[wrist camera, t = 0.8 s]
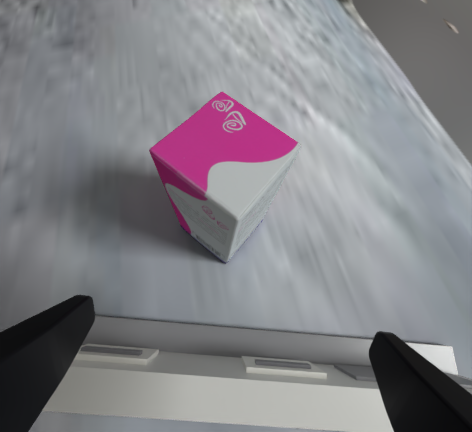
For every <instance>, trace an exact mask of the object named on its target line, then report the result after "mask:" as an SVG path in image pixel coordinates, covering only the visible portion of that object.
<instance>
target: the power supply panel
mask: <svg viewBox="0 0 472 432" xmlns="http://www.w3.org/2000/svg"><path fill="white" fill-rule="evenodd" d="M372 341H373V339H368V338H356V337H345V336H333V335H321V334H309V333H297V332H286V331H274V330H262V329H250V328H239V327H227V326H215V325H203V324H192V323H180V322H168V321H156V320H145V319H133V318H121V317H109V316H98V315H95V321H94V323H93V325H92V327H91V329H90V331H89V333H88V335H87V336H86V338H85V340H84V342H83V344H82V346H81V348H80V349H79V351H78V353H77V355H76V357H75V359H74V360H73V362H72V364H71V366H70V368H69V369H68V371H67V373H66V375H65V376H64V378H63V379H62V381H61V383H60V384H59V386H58V387H57V389H56V390H55V392H54V393H53V395H52V396H51V398H50V399H49V401H48V402H47V404H46V405H45V407H44V408H43V410H42V411H46V412H61V413H76V414H91V415H106V416H121V417H136V418H151V419H166V420H181V421H196V422H211V423H226V424H241V425H256V426H272V427H287V428H302V429H317V430H332V431H347V432H394V431H393V428H392V426H391V423H390V420H389V418H388V415H387V412H386V410H385V407H384V404H383V400H382V397H381V394H380V391H379V388H378V385H377V381H376V378H375V375H374V372H373V369H372V365H371V362H370V359H369V348H370V346H371V343H372ZM405 343H406V344H407V345H409V346H410V347H411V348H413V349H414V350H415V351H417V352H418V353H419V354H420V355H422V356H423V357H424V358H426V359H427V360H428V361H429V362H431V363H432V364H433V365H435V366H436V367H437V368H438V369H440V370H441V371H442V372H444V373H445V374H446V375H448V376H449V377H450V378H451V379H453V380H454V381H455V382H457V383H458V384H459V385H460V386H462V387H463V388H464V389H466V390H467V391H468V392H470V393H471V394H472V379H469V378H466V377H463V376H460V375H458V372H457V368H456V363H455V358H454V354H453V349H452V347H451V346H446V345H439V344H427V343H415V342H405Z"/></svg>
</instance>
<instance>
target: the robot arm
mask: <svg viewBox="0 0 472 432" xmlns="http://www.w3.org/2000/svg"><path fill="white" fill-rule="evenodd" d="M94 321H95V311H94V304H93V299H92V297H90V296H85V295H76V296H74V297H72V298H70V299H68V300H66V301H63V302H61V303H59V304H57V305H55V306H53V307H51V308H49V309H47V310H45V311H43V312H41V313H39V314H37V315H35V316H33V317H31V318H29V319H27V320H25V321H23V322H21V323H19V324H17V325H15V326H12V327H10V328H8V329H6V330H4V331H2V332H0V432H28V431H29V430H30V428H31V427H32V425H33V424H34V422H35V420H36V419H37V417H38V416H39V414H40V413H41V411H42V410H43V408H44V407H45V405H46V404H47V402H48V401H49V399H50V398H51V396H52V395H53V393H54V392H55V390H56V389H57V387H58V386H59V384H60V383H61V381H62V379H63V378H64V376H65V375H66V373H67V371H68V369H69V368H70V366H71V364H72V362H73V360H74V359H75V357H76V355H77V353H78V351H79V349H80V348H81V346H82V344H83V342H84V340H85V338H86V336H87V335H88V333H89V331H90V329H91V327H92V325H93V323H94ZM369 359H370V362H371V365H372V369H373V372H374V375H375V378H376V381H377V385H378V388H379V391H380V394H381V397H382V400H383V404H384V407H385V410H386V412H387V415H388V418H389V420H390V423H391V426H392V428H393V431H394V432H472V394H471V393H470V392H468V391H467V390H466V389H464V388H463V387H462V386H460V385H459V384H458V383H457V382H455V381H454V380H453V379H451V378H450V377H449V376H448V375H446V374H445V373H444V372H442V371H441V370H440V369H438V368H437V367H436V366H435V365H433V364H432V363H431V362H429V361H428V360H427V359H426V358H424V357H423V356H422V355H420V354H419V353H418V352H417V351H415V350H414V349H413V348H411V347H410V346H409V345H407V344H406V343H405V342H404V341H402V340H401V339H400V338H398V337H397V336H396V335H394V334H393V333H390V332H382V331H379V332H377V333H376V334H375V337H374V339H373V341H372V343H371V346H370V348H369Z"/></svg>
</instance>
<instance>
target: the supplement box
mask: <svg viewBox="0 0 472 432" xmlns="http://www.w3.org/2000/svg"><path fill="white" fill-rule="evenodd" d="M300 148H301V144H300V143H298V142H296V141H295V140H294V139H292V138H291V137H289V136H288V135H286V134H285V133H283V132H282V131H280V130H279V129H277V128H276V127H274V126H273V125H271V124H270V123H268V122H267V121H265V120H264V119H262V118H261V117H259V116H258V115H256V114H255V113H253V112H252V111H250V110H249V109H247V108H246V107H244V106H243V105H241V104H240V103H238V102H237V101H236V100H234V99H233V98H231V97H230V96H228V95H227V94H225V93H224V92H220V93H219V94H217V95H216V96H215V97H214V98H212V99H211V100H210V101H209V102H208V103H206V104H205V105H204V106H203V107H202V108H201V109H200V110H198V111H197V112H196V113H195V114H194V115H192V116H191V117H190V118H189V119H187V120H186V121H185V122H184V123H182V124H181V125H180V126H178V127H177V128H176V129H175V130H173V131H172V132H171V133H170V134H168V135H167V136H166V137H164V138H163V139H162V140H161V141H159V142H158V143H157V144H155V145H154V146H153V147H152V148H150V150H149V151H150V154H151V156H152V159H153V161H154V163H155V166H156V168H157V171H158V173H159V175H160V178H161V180H162V182H163V184H164V187H165V189H166V192H167V194H168V196H169V199H170V201H171V203H172V206H173V208H174V210H175V213H176V215H177V217H178V220H179V222H180V225H181V227H182V228H183V229H184V230H185V231H186V232H187V233H189V234H190V235H191V236H192V237H193V238H194V239H196V240H197V241H198V242H199V243H200V244H201V245H203V246H204V247H205V248H206V249H207V250H209V251H210V252H211V253H212V254H213V255H215V256H216V257H217V258H218V259H220V260H221V261H222V262H223V263H225V264H226V263H227V262H228V261H229V260H230V259H231V258H232V256H233V255H234V254H235V253H236V252H237V250H238V249H239V248H240V247H241V246H242V245H243V243H244V242H245V241H246V240H247V239H248V237H249V236H250V235H251V234H252V233H253V231H254V230H255V229H256V228H257V227H258V225H259V224H260V223H261V222H262V220H263V218H264V216H265V214H266V212H267V210H268V208H269V206H270V205H271V203H272V201H273V199H274V197H275V195H276V193H277V191H278V190H279V188H280V186H281V184H282V182H283V180H284V178H285V176H286V175H287V173H288V171H289V169H290V167H291V165H292V164H293V162H294V160H295V158H296V156H297V154H298V152H299V150H300Z"/></svg>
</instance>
